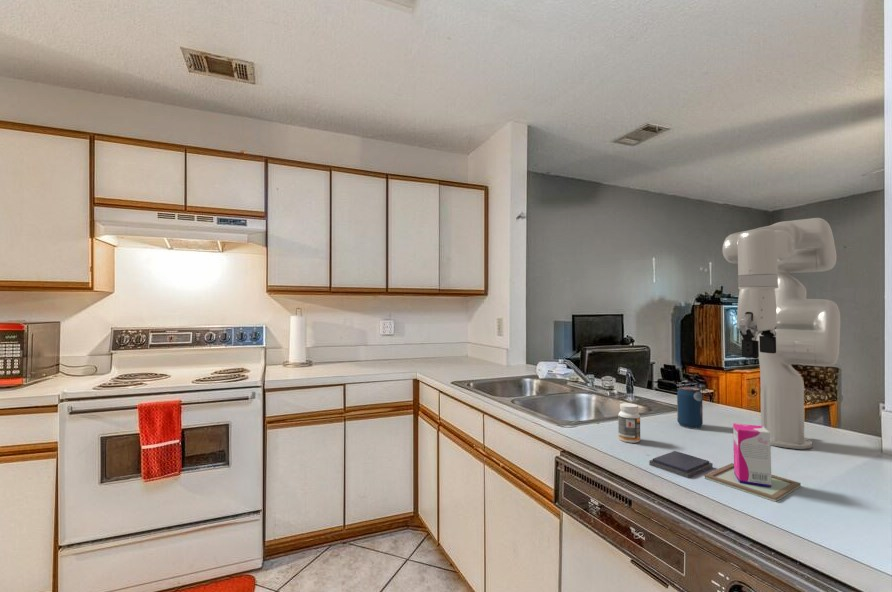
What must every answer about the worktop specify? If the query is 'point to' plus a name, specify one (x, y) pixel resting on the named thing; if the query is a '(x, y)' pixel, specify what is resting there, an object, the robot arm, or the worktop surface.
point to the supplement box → (752, 455)
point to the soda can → (689, 407)
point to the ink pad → (681, 464)
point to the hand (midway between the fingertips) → (759, 355)
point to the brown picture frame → (774, 493)
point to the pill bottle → (629, 423)
